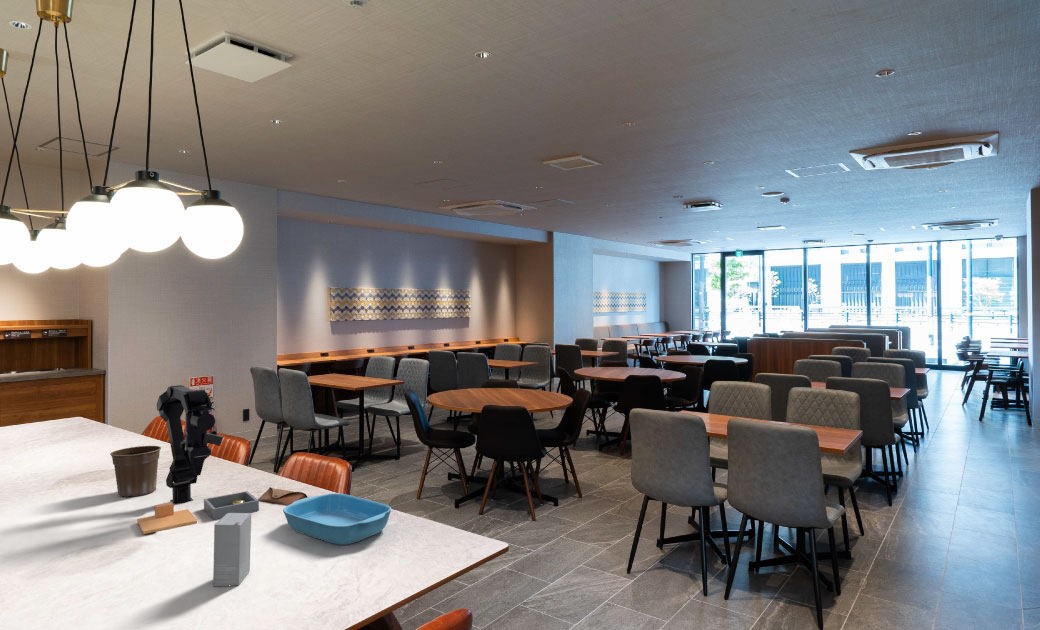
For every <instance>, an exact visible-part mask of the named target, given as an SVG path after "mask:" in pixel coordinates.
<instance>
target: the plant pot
mask: <svg viewBox="0 0 1040 630" xmlns="http://www.w3.org/2000/svg"><path fill="white" fill-rule="evenodd" d="M161 450H162V447H161V446H158V445H139V446H132V447H126V448H121V449H117V450H114V451H111V452H110V456H111V458H112V465H113V467H114V473H115V479H116V487H117V488H116V489H117V496H118V495H119V496H118V497H121V496H124V497H123V498H128V497H132V496H133V497H139V495H140V496H145V495H144V494H146V495H148V493H149V494H151V493H153V492H154V491H156V490H157V480H158V465H159V459H160V454H161V453H160V452H161Z"/></svg>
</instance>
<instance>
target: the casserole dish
mask: <svg viewBox="0 0 1040 630" xmlns="http://www.w3.org/2000/svg"><path fill="white" fill-rule="evenodd" d="M307 497H308V496H307ZM282 511H283V514H284V516H285V519H286V521H287V524H288V525H289V527H290V528H291V529H292V530H293V531H295V532H298V533H300V534H302V533H303V535H305V536H308V537H310V538H311V537H312V538H315V539H317V538H318V540H320V539H321V541H323V540H324V541H323V542H327V543H331V544H335V545H341V546H343V545H345V546H346V545H350V544H354V543H357V542H360V541H363V540H366V539H367V538H369V537H373V536H375V535H377V534H379V533H380V532H382V531H383V530H384V529H385V527H386V526H387V525H388V521H389V518H390V514H391V511H392V507H391V506H389V505H388V504H385V503H381V502H377V501H374V500H371V499H366V498H362V497H359V496H354V495H350V494H346V493H337V492H336V493H335V492H333V493H326V494H325V493H324V494H320V495H315V496H309V497H308V498H304V499H301V500H298V501H295V502H293V503H292V504H290V505H288V506H284V507H283V510H282Z"/></svg>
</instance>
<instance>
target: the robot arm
mask: <svg viewBox="0 0 1040 630" xmlns="http://www.w3.org/2000/svg"><path fill="white" fill-rule="evenodd" d="M212 406H213V403H212V401H211V399H210V396H209V393H208V392H207V391H206V390H205V389H196V390H195V389H190V388H188V387H185V385H182V384H181V385H179V384H177V385H170V386H168V387H167V388H166V390H165V391H164V392H163V393H161V395H159V397H158V398H157V401H156V410H157V411H158V414H159V417H160V418H161V419H162V420H163V421H164V422H166V423H165V424H166V427H167V434H168V439H169V444H170V449H171V456H172V462H171V464H170V466H169V471H168V475H167V476H166V479H165V483H166V487H168V488H169V489H172V494H171V495H172V498H171V499H170V500H169V501H170V502H172V503H173V504H174V505H178V504H183V503H188V502H189V503H190V502H193V501H194V499H193V498H192V497H191V496H192V491H191V488H192V486H191V485H192V484H193V485H194V484H197V482H198V476H201V474H202V471H203V468H204V464H205V461H206V459H208V458H209V457H210V456H211V455H212V448H211V447H209V446H208V444H209V445H215V446H218V447H221V445H222V442H223V440H224V436H222V435H220V434H218V432H217V431H216V430H212V428H214V426H215V424H216V418H215V416H214V415H213V414H211V413H210V412H209V411H211V410H212V409H213V408H212ZM183 412H184V413H185V416H184V417H185V429H183V424H182V415H183ZM209 430H210V431H209ZM208 431H209V432H208ZM184 435H185V436H184Z"/></svg>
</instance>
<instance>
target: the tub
mask: <svg viewBox="0 0 1040 630" xmlns="http://www.w3.org/2000/svg"><path fill="white" fill-rule="evenodd" d="M238 499H243V500H245V503H240V504H235V505H232V501H234V500H238ZM258 499H259V498H257V497H256V496H254V495H253V494H252V493H251V492H249V491H247V490H246V491H240V492H236V493H230V494H224V495H219V496H213V497H208V498H204V499H203V510H204V511H205V512H206V514H208V516H209V517H210V518H211V519H212V520H214V521H216V520H220V519H221V518H222V517H224V516H225V515H226V514H227V513H254V512H259V511H260V506H259V505H260V501H259V500H258Z"/></svg>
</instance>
